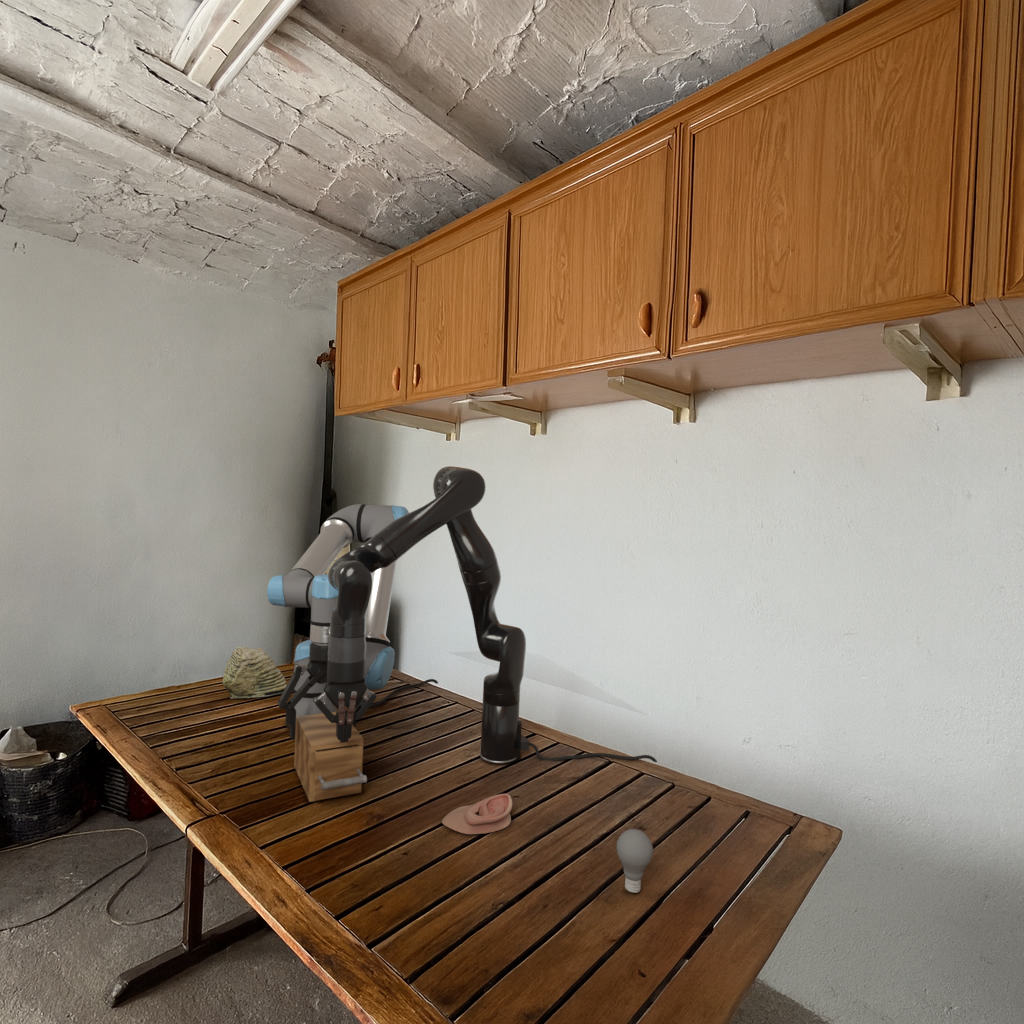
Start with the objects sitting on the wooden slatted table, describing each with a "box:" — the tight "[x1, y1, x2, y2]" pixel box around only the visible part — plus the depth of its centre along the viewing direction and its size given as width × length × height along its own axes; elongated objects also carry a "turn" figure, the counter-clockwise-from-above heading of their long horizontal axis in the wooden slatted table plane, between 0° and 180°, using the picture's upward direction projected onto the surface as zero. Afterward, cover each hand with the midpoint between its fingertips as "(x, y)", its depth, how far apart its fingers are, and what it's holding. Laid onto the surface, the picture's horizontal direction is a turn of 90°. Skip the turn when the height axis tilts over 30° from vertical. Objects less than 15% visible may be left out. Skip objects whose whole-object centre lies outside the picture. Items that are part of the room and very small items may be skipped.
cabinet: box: [293, 712, 365, 803], centre depth 142 cm, size 19×11×12 cm, turn 28°
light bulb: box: [615, 828, 654, 894], centre depth 106 cm, size 6×6×10 cm
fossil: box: [222, 646, 287, 699], centre depth 198 cm, size 9×18×15 cm, turn 132°
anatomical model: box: [441, 793, 513, 835], centre depth 126 cm, size 13×4×12 cm
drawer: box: [313, 745, 368, 801], centre depth 138 cm, size 23×10×10 cm, turn 28°
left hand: (323, 733), depth 146 cm, fingers open, 13 cm apart
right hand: (343, 740), depth 130 cm, fingers closed
